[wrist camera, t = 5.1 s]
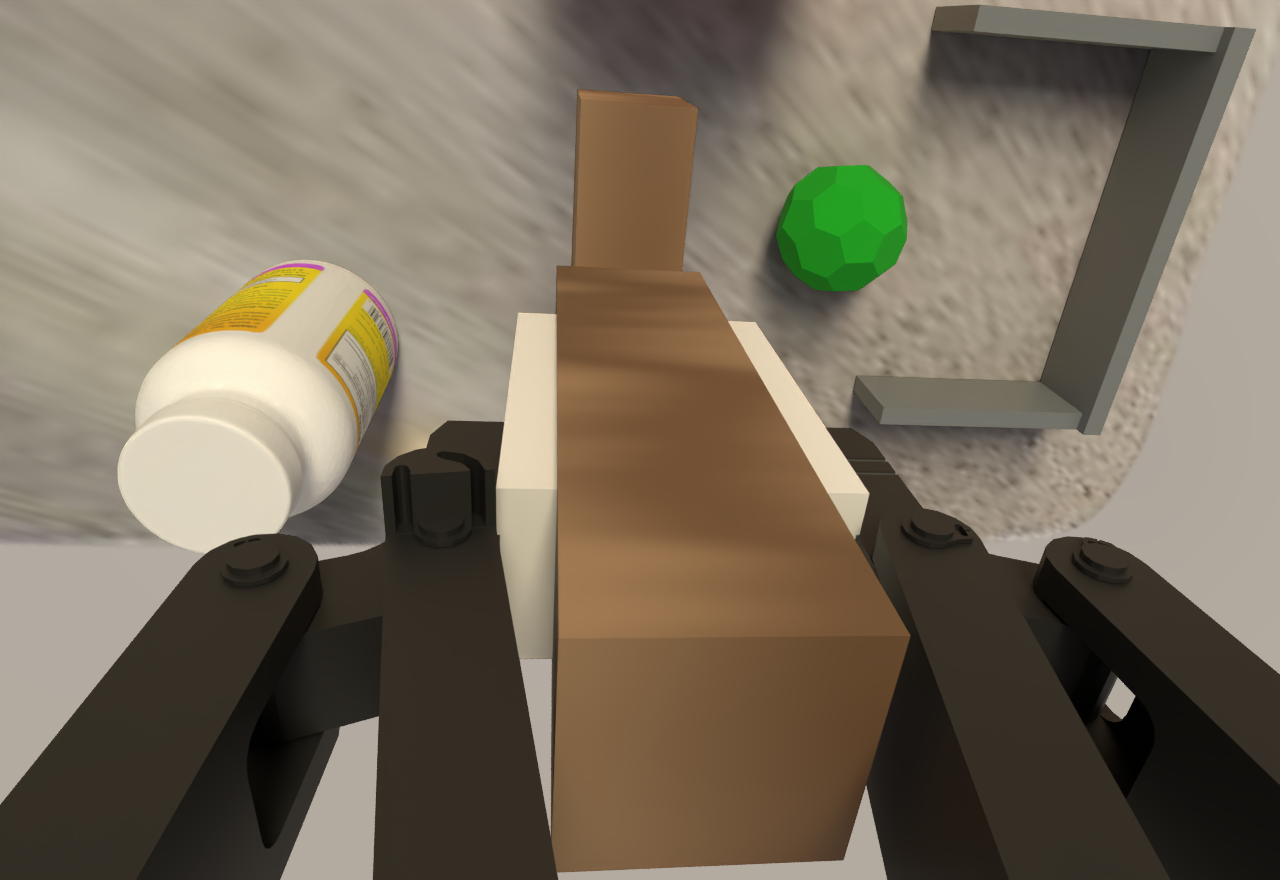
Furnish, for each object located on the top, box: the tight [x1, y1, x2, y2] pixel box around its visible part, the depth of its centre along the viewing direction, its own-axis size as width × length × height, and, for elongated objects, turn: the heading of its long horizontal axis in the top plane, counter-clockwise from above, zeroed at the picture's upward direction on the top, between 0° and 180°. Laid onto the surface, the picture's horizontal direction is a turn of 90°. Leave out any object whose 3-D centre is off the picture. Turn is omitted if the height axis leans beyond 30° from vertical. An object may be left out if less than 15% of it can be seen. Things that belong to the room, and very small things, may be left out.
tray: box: [854, 5, 1256, 435], centre depth 32 cm, size 10×16×4 cm, turn 176°
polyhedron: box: [776, 165, 907, 291], centre depth 31 cm, size 5×5×5 cm
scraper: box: [551, 89, 910, 872], centre depth 14 cm, size 3×10×15 cm, turn 176°
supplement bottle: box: [118, 260, 398, 554], centre depth 28 cm, size 7×7×13 cm
